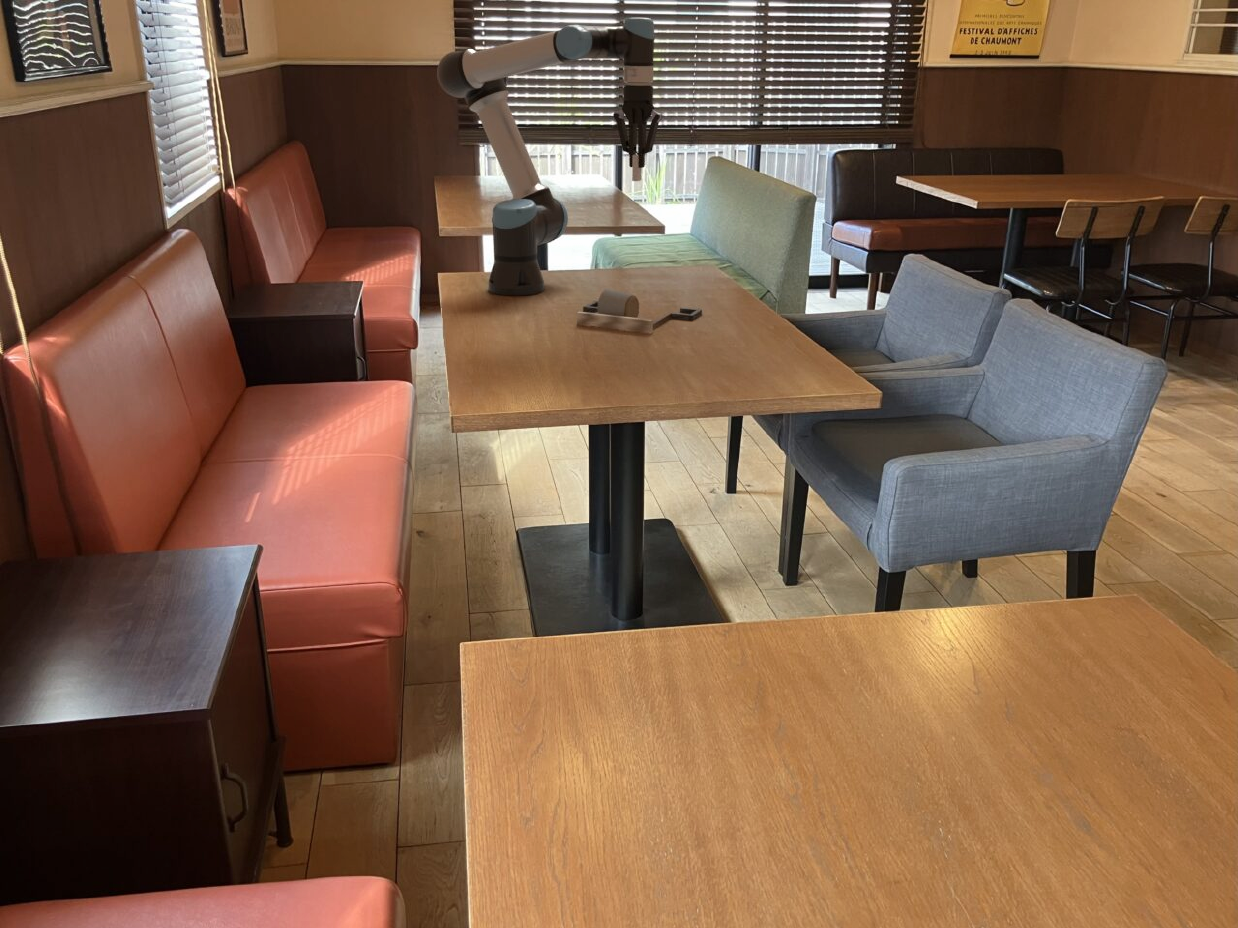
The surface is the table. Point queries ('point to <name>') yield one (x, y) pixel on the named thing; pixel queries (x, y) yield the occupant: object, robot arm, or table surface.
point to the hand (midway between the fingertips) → (636, 180)
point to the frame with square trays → (630, 319)
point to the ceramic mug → (618, 304)
